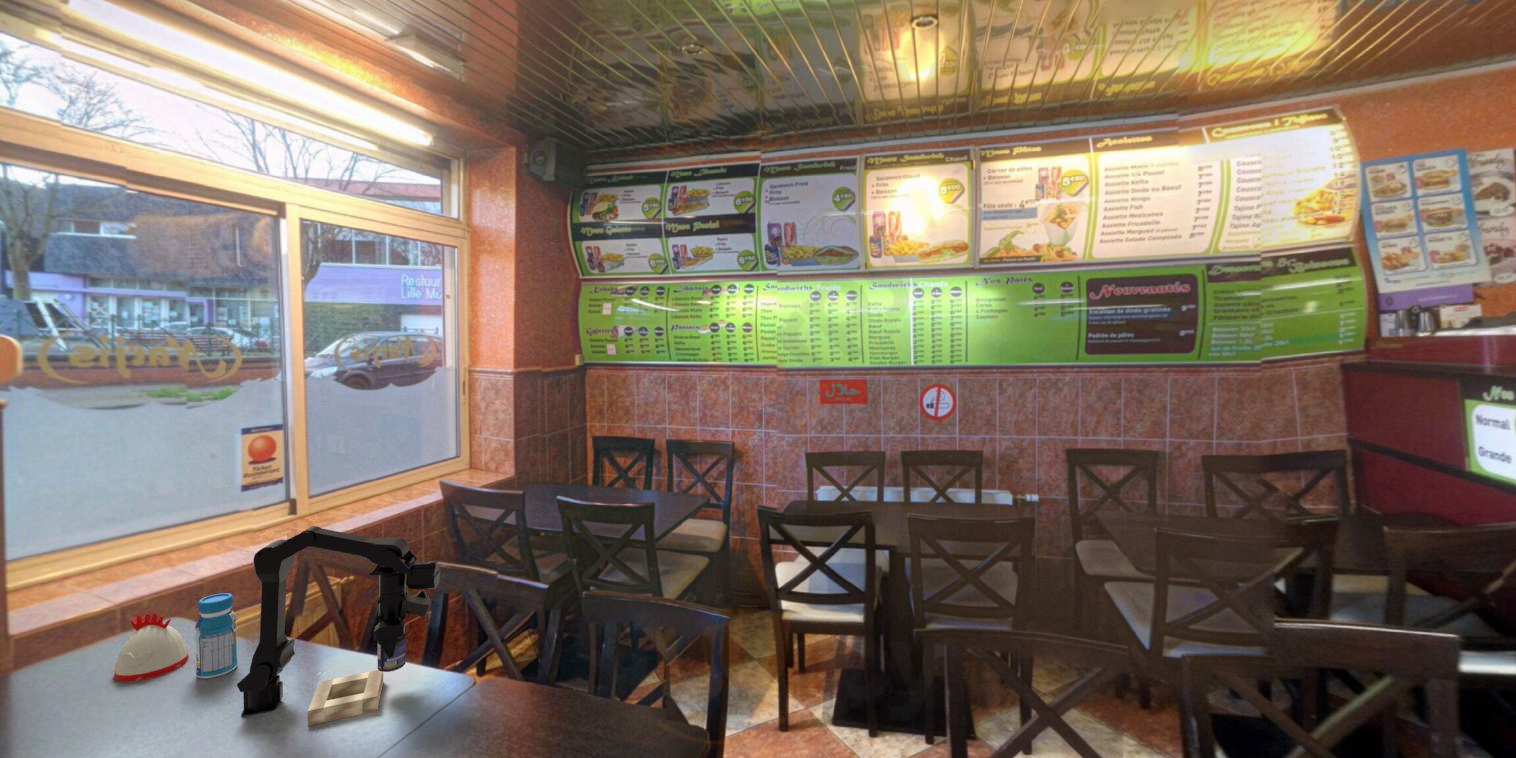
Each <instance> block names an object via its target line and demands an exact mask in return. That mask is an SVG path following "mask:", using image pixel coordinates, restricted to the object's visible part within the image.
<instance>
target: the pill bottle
mask: <svg viewBox="0 0 1516 758" xmlns="http://www.w3.org/2000/svg"><path fill="white" fill-rule="evenodd" d="M406 657H407V632H406V631H405V632H404V635H403V636H401V637H398V638H397V642H396V646H395V650H394V655H393V657H387V655H386V653H385V651H384V650H383V648H382V646H381V645H380V643H379V642H378V641H377V670H379V671H382V672H383V673H388V672H389V673H390V672H395V671H398V670H400V669H401V668H403V667H404V666H405V664H406V660H407V658H406Z"/></svg>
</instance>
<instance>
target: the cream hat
mask: <svg viewBox="0 0 1516 758" xmlns="http://www.w3.org/2000/svg"><path fill="white" fill-rule="evenodd" d="M164 618H165V615H162V616H160V617H159V618H158V614H157V612H156V611H155V612H154V613H152V616H151V614H150V612H148V613H146V614H145V616H144V618H143V616H142V614H140V613H139V614H138V615H136V620H135V619H131V620H130V624H131V626H132V627H133V628H134V629H135V632H134V633H133V634H132V635H130V636H129V638H128V639H127V641H125V643H124V644H123V645H122V647H121V649H120V651H119V653H118V656H117V659H116V661H115V664H114V670H113V671H114V673H113V675H114V680H116V681H118V682H126V683H129V682H137V681H142V680H143V681H144V680H147V679H151V678H155V677H159V676H161V675H164V674H167V673H170V672H173V671H174V670H177V669H179V668H180V667H182V666H183V665H185V664H186V663H187V662H188V661H189V650H188V646H187V645H186V642H185V640H184V639H183V637H182V635H181V633H180V632H179V631H178V630H176V629H175V628H174V627H172V626H170V625H169V624H170V622H171V618H169V619H168V620H167V621H166V622H165V623H164V622H163V621H164Z"/></svg>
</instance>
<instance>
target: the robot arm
mask: <svg viewBox="0 0 1516 758" xmlns="http://www.w3.org/2000/svg"><path fill="white" fill-rule="evenodd" d="M309 547H311V548H315V549H316V548H317V549H321V550H327V551H332V552H338V553H343V554H348V555H353V556H358V557H362V558H364V559H366V560H368V561H369V562H370V563H372V564H375V565H376V566H375V568H373V569H372V571H370V572H369V574H368V575H369V576H371V577H373V576H379V578H378V581H379V582H378V583H379V584H378V588H379V590H378V599H377V603H378V614H377V621H379V622H378V623H377V624H376V625H375V626H374V630H373V641H377V643H378V642H379V643H380V645H381V646H382V648H383V650H384V651H385V653H386V655H387V657H393V655H394V650H395V646H396V642H397V638H398V637H401V636H403V635H404V632H406V631H405V629H406V622H405V621H404V620H405V619H406V618H407V617H408V615H413V616H419V617H420V618H425V617H427V614H428V612H429V610H430V607H431V605H432V599H431V598H430V597H429V596H428V597H427V591H426V590H431V589H437V588H438V586H439V584H440V579H441V570H440V566H439V565H438V564H439V561H438V560H435V559H434V560H429V561H419V558H418V557H417V556H416V555H415V553H414V552H412V550H411V549H410V546H409V543H408V542H407V540H406V539H404V538H402V537H394V536H393V537H389V536H385V537H367V536H362V535H357V534H352V533H347V532H341V531H336V530H331V529H327V528H322V527H320V526H314V525H313V526H310V527H308V528H306V529H305V530H302V531H300V533H298V534H296V535H294V536H292V537H290V538H288V539H277V540H275V541H273V542H271V543H269V544H267V545H266V546H265V547H262V548H260V550H257V552H256V553H255V554H254V556H253V558H252V559H253V566H254V567H253V568H254V573H255V576H257V578H258V579H259V581H260V583H261V588H260V589H261V590H260V591H261V593H260V595H261V596H260V618H259V619H260V624H259V641H258V644H257V646H256V648H255V651H254V653H253V655H252V659H251V661H250V662H251V663H250V667H249V673H247V674H246V676H244V677H243V678H242V679H241V680H240V681H239V682H238V683H237V684H236V686H237V688H238V690H239V692H240V693H242V694H243V697H242V698H243V710H242V712H241V714H240V716H241V717H246V716H251V715H255V714H261V713H262V714H263V713H266V712H270V711H274V710H276V709H277V707H278V706H279V704H281V702H282V700H283V698H284V689H283V688H284V686H283V685H284V684H283V683H284V682H283V681H282V680H280V679H281V675H280V673H281V672H282V671H283V670H284V668H285V667H286V666H287V665H288V664H289V663H290V662H291V660H292V658H293V657H294V656H295V655H296V652H295V649H294V647H295V644H296V643H295V641H296V639H294V638H292V639H288V637H287V636H286V634H285V632H286V631H285V629H286V628H285V627H286V626H285V625H286V600H287V599H286V598H287V580H288V579H287V578H288V576H289V574H290V571H291V568H292V566H293V563H294V561H295V556H296V554H297V553H299V552H301V551H302V550H305V549H306V548H309ZM406 586H407V587H406ZM407 588H408V589H411V591H415V590H419V591H418V592H416V594H412V595H411V594H410V595H409V594H408V592H409V591H408V590H407Z"/></svg>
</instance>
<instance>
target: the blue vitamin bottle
mask: <svg viewBox="0 0 1516 758" xmlns="http://www.w3.org/2000/svg"><path fill="white" fill-rule="evenodd" d="M233 605H234V596H233V594H232V593H229V592H228V593H227V592H225V593H224V592H223V593H222V592H221V593H216V594H211V595H208V596H205V597H202V598H201V599H199V601H198V614H199V615H200V617H199V618H198V619H197V621H196V623H195V627H194V629H195V631H196V632H195V634H194V641H195V650H196V653H195V654H196V657H195V658H196V668H195V676H196V677H197V678H199V679H211V678H218V677H221V676H224V675H226V674H229V673H230V672H232V671H234V670H235V669H237V666H238V656H237V655H238V654H237V653H238V652H237V651H238V650H237V649H238V648H237V646H238V645H237V635H238V634H237V632H238V624H237V623H236V622H237V620H238V619H237V615H236V613H235V612H234V611H233V609H232V608H233Z"/></svg>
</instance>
